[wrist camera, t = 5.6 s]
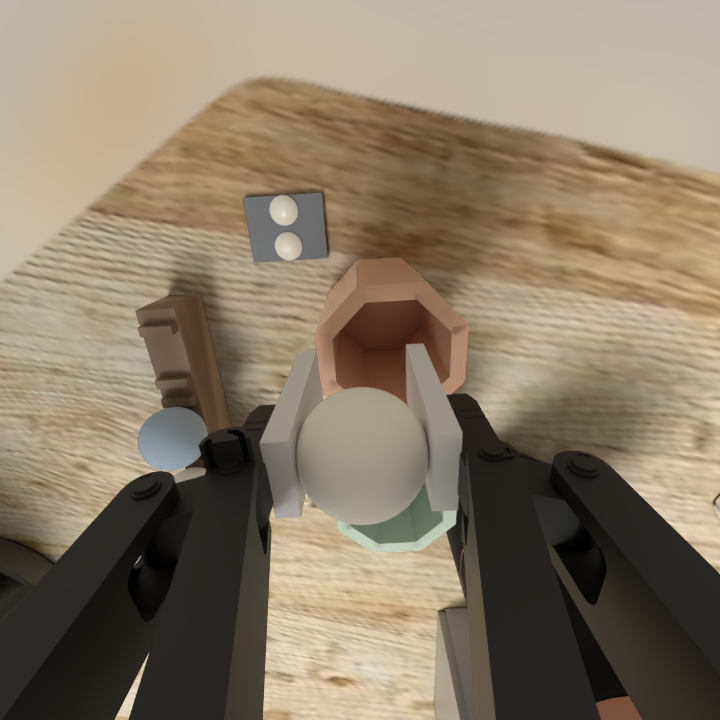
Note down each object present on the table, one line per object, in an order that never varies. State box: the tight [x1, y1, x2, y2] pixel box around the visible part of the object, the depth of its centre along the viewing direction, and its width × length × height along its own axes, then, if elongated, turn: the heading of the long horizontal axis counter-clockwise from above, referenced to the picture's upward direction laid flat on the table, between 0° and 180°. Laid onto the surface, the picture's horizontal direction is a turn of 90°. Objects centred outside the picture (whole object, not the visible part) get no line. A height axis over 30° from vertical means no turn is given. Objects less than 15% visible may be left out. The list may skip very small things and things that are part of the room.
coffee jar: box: [446, 453, 642, 720], centre depth 25 cm, size 11×11×18 cm
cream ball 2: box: [296, 387, 429, 525], centre depth 11 cm, size 4×4×4 cm
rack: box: [135, 294, 232, 469], centre depth 26 cm, size 2×16×5 cm, turn 3°
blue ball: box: [138, 407, 208, 470], centre depth 23 cm, size 4×4×4 cm
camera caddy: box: [434, 608, 475, 720], centre depth 39 cm, size 16×21×10 cm
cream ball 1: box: [174, 467, 206, 483], centre depth 25 cm, size 4×4×4 cm
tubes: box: [243, 193, 469, 553], centre depth 23 cm, size 12×22×9 cm, turn 3°
